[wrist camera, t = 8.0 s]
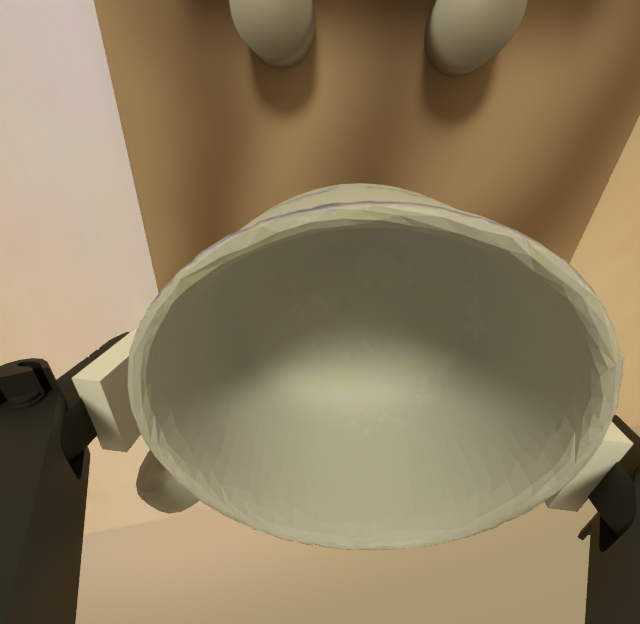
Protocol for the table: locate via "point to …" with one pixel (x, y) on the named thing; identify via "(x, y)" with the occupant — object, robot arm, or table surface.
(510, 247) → the teacup
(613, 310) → the table surface
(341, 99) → the board
